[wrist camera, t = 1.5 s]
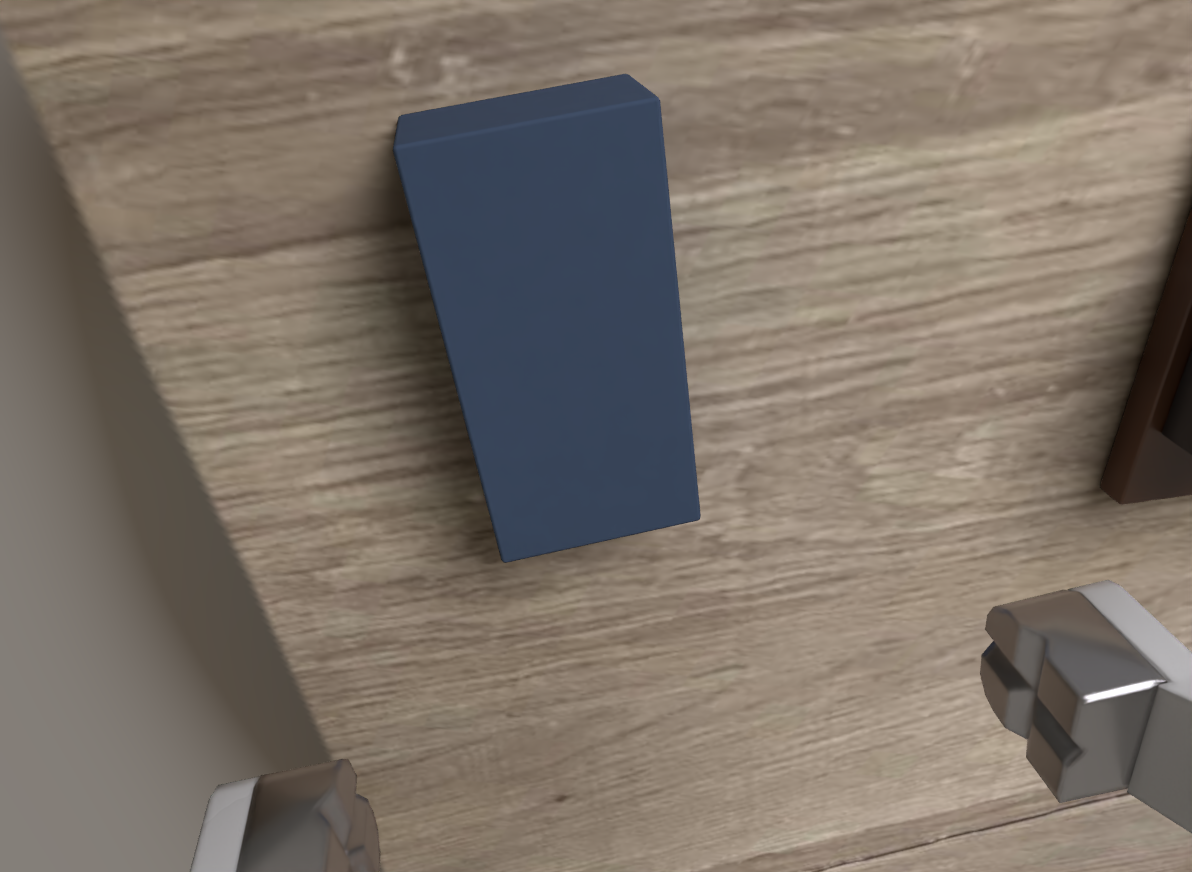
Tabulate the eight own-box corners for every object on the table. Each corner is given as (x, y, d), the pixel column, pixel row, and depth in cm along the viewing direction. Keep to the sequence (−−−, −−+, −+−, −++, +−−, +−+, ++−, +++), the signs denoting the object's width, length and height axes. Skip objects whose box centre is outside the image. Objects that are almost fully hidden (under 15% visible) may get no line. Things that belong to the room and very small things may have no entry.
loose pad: (397, 115, 18) (390, 146, 15) (628, 72, 18) (660, 96, 16) (494, 494, 23) (502, 565, 21) (672, 456, 23) (701, 521, 21)
